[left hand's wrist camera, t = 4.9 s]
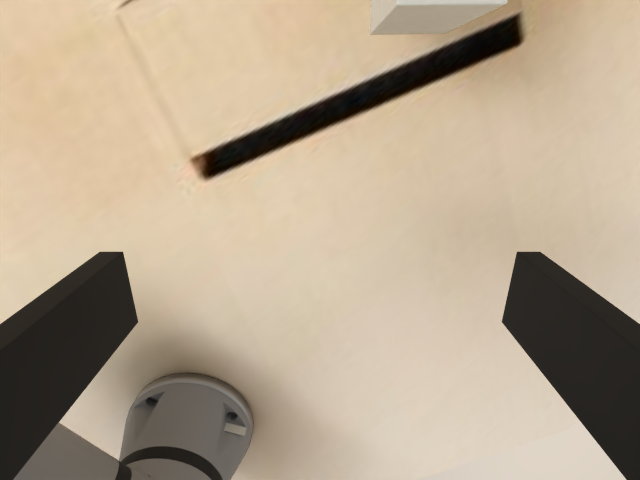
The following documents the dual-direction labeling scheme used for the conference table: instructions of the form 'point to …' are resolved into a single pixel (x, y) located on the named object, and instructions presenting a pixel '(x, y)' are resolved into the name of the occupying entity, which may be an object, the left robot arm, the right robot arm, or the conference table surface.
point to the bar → (426, 15)
